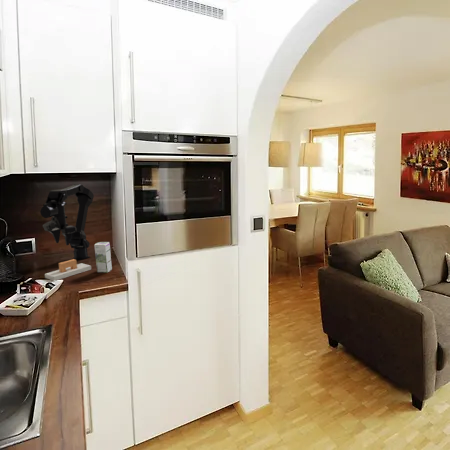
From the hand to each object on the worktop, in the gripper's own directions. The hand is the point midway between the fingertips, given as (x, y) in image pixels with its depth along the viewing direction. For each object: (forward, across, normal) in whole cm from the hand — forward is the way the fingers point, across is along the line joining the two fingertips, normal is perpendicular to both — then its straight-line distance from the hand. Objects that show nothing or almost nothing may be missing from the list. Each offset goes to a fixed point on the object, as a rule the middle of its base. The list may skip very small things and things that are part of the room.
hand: (62, 244), depth 193 cm
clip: (+12, +13, -6) cm, 19 cm away
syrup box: (+12, +25, +6) cm, 28 cm away
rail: (+12, +13, -6) cm, 19 cm away
